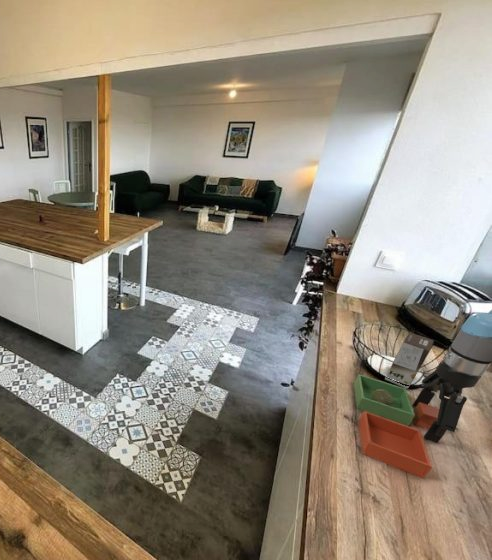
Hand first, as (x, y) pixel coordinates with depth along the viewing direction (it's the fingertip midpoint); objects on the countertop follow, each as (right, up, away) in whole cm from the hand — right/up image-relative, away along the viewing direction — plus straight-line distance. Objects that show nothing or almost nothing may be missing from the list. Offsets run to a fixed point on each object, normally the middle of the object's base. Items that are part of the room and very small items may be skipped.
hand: (424, 422), depth 92 cm
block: (0, 0, 0) cm, 0 cm away
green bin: (-8, +3, +7) cm, 10 cm away
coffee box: (+8, +8, +17) cm, 20 cm away
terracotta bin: (-17, -4, -7) cm, 19 cm away
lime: (-8, +3, +6) cm, 11 cm away
